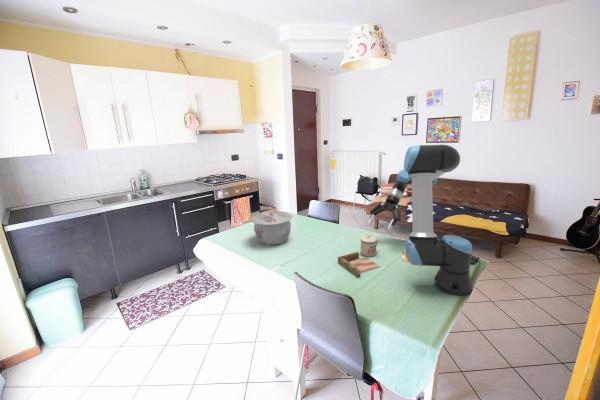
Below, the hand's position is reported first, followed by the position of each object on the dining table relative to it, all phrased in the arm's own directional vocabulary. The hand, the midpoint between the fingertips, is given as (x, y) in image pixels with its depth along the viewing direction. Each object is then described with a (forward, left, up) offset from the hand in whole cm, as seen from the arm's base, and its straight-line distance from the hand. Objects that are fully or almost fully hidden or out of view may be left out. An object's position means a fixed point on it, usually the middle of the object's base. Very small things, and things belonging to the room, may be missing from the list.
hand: (378, 227), depth 166 cm
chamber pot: (+44, +52, -14) cm, 69 cm away
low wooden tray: (-13, +23, -13) cm, 30 cm away
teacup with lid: (-3, +9, -14) cm, 16 cm away
